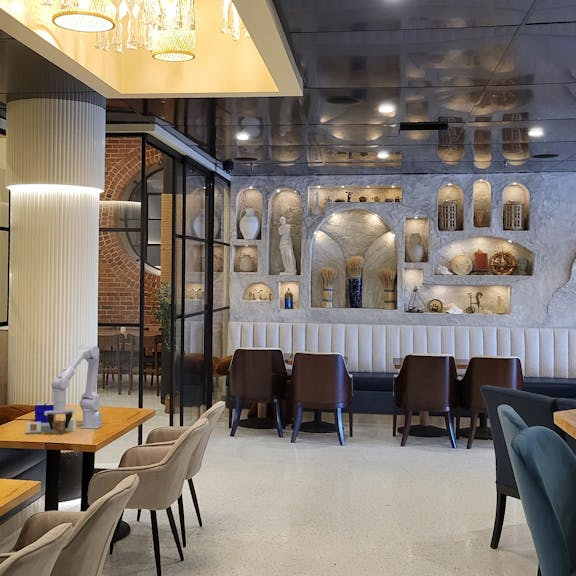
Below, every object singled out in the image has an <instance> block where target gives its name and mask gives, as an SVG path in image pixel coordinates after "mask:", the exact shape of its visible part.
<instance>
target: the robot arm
mask: <svg viewBox="0 0 576 576" xmlns="http://www.w3.org/2000/svg"><path fill="white" fill-rule="evenodd" d="M83 360H85V361H86V362H87V373H86V382H85V392H84V393H83V394H82V395H81V398H80V401H79V407H80V408H81V411H82V425H81V426H80V427H79V428H80V429H99V428H101V427H103V425H102V424H103V423H102V420H103V419H102V412H101V410H99V409H100V407H101V401H100V399H101V397H100V395H99V394H98V393H97V386H98V377H99V376H98V375H99V365H100V364H99V363H100V349H99V347H98V346H97V345H93V344H92V345H90V344H80V345H78V348H77V349H76V354H75V355H74V357H73V359H72V360H71V362H70V363H69V365H67V366H65V367H63V369H62V371H61V372H60V374H59V375H58V376H57V377H56V378H54V379H53V380H52V383H51V388H52V391H53V392H52V393H53V402H54V410H51V411H44V415H45V416H46V417H47V419H48V422H49V425H50V429H51V430H53V416H52V415H65V416H64V417H65V419H66V428H68V425H69V422H70V420H71V418H73V416H74V415H73V414H75V409H66V393H67V392H66V390H67V389H68V387H69V383H70V381H71V379H72V378H73V376H74V375H75V374H76V373H75V369H77V367H78V366H79V365H80V364H81V363H82V361H83Z"/></svg>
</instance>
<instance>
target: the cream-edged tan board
mask: <svg viewBox="0 0 576 576" xmlns="http://www.w3.org/2000/svg"><path fill="white" fill-rule="evenodd" d="M41 434H42V432H41V422H35V421H27V422H26V423H25V435H41Z"/></svg>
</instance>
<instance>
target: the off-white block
mask: <svg viewBox="0 0 576 576" xmlns="http://www.w3.org/2000/svg"><path fill="white" fill-rule="evenodd" d="M63 421H65V422H66V418H64V419H63ZM76 430H77V418H76V417H72V418H71V420H70V422H69V425H68V428H66V430H65V432H75V431H76Z"/></svg>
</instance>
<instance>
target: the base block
mask: <svg viewBox="0 0 576 576" xmlns="http://www.w3.org/2000/svg"><path fill="white" fill-rule="evenodd" d="M41 433H53V430H51V429H50V425H49V423H41Z"/></svg>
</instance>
